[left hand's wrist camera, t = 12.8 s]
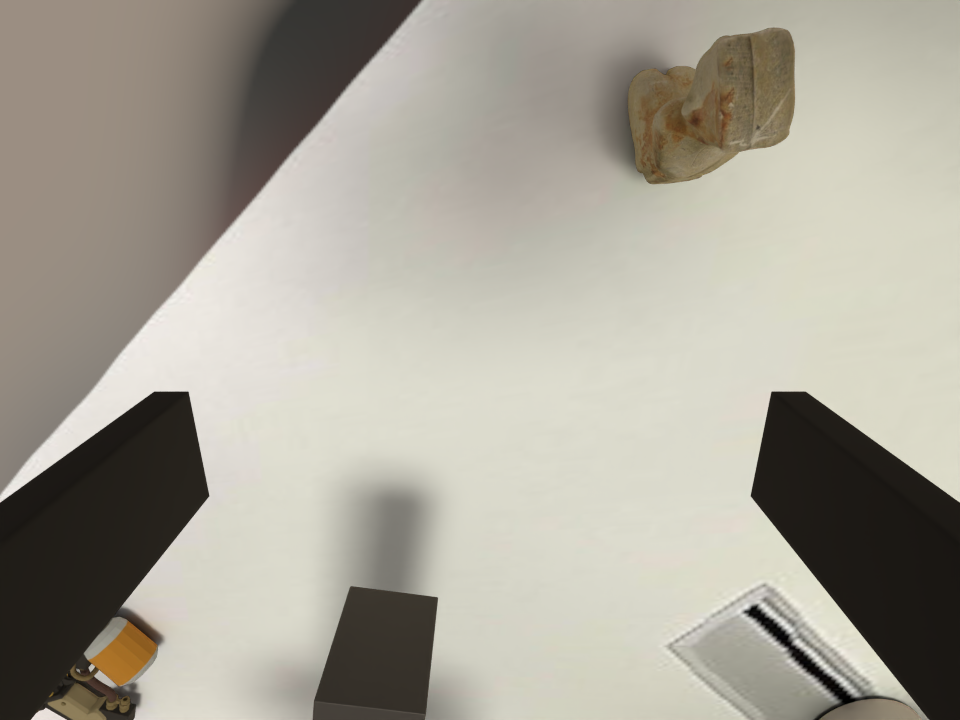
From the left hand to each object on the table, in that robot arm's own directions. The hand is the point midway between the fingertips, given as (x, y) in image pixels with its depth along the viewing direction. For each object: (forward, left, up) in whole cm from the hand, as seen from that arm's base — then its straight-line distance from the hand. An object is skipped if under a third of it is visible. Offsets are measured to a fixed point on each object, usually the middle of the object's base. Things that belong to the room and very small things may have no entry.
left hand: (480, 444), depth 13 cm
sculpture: (-15, +3, -31) cm, 34 cm away
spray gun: (+56, +1, -31) cm, 64 cm away
